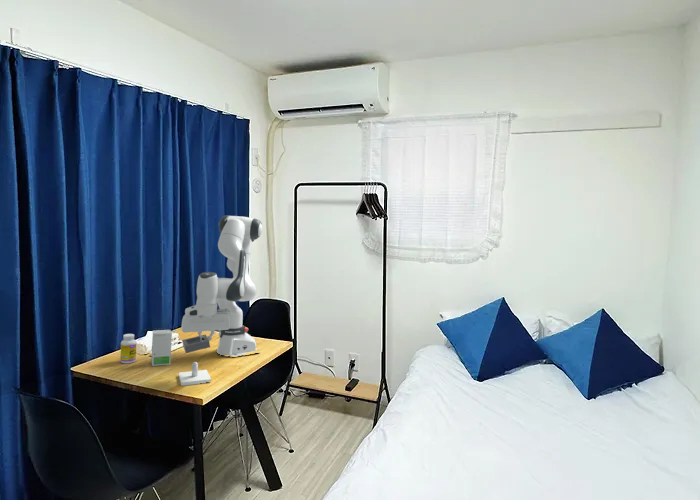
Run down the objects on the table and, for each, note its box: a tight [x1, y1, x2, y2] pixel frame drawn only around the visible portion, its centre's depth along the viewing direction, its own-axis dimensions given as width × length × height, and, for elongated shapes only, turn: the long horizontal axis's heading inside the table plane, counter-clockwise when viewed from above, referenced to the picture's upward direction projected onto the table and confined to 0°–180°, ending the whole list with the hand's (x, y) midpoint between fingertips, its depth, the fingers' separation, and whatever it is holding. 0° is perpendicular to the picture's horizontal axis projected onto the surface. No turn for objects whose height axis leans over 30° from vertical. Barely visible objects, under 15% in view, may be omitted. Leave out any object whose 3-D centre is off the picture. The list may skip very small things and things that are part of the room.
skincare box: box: [151, 329, 173, 367], centre depth 208 cm, size 8×7×16 cm
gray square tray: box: [181, 334, 211, 354], centre depth 191 cm, size 10×10×3 cm
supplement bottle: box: [119, 333, 137, 364], centre depth 208 cm, size 7×7×13 cm
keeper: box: [178, 361, 212, 387], centre depth 192 cm, size 12×12×8 cm
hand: (205, 340), depth 193 cm, fingers closed on gray square tray, 2 cm apart
